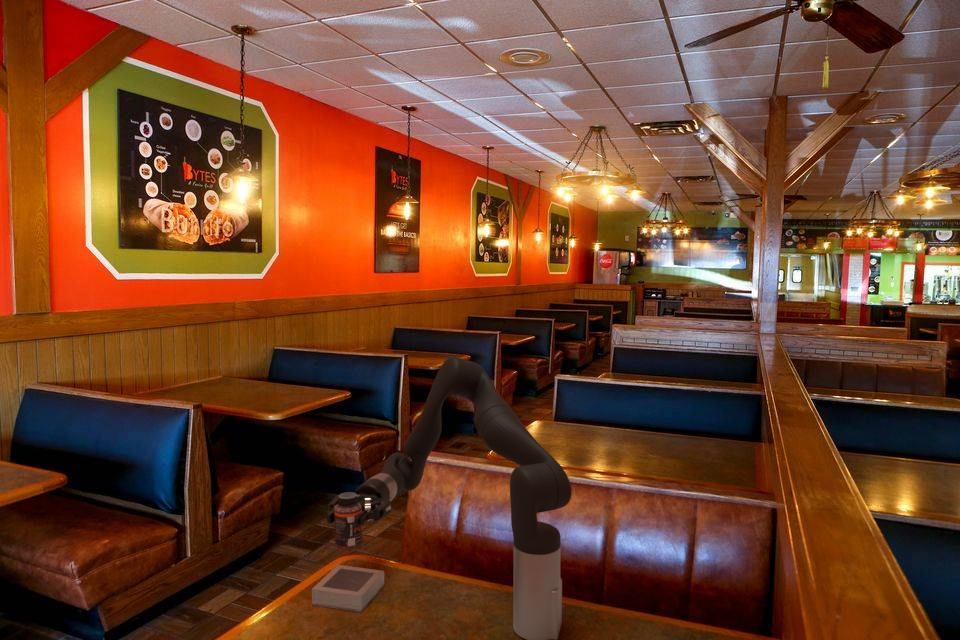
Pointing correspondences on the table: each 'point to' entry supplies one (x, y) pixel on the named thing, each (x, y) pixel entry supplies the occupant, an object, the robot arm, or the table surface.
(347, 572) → the square holder
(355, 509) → the supplement bottle
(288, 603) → the table surface
